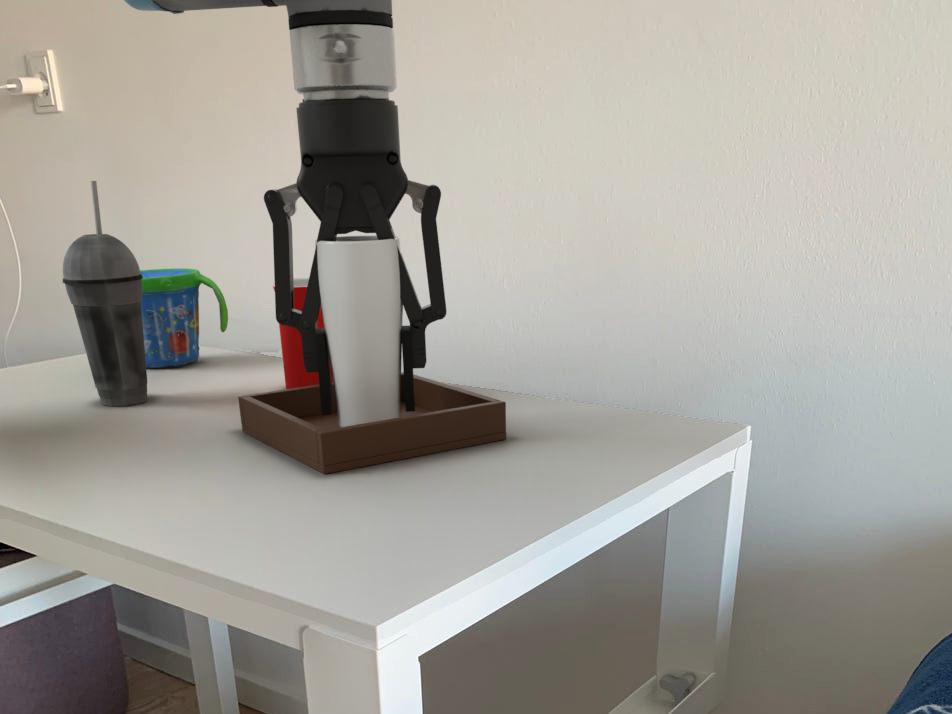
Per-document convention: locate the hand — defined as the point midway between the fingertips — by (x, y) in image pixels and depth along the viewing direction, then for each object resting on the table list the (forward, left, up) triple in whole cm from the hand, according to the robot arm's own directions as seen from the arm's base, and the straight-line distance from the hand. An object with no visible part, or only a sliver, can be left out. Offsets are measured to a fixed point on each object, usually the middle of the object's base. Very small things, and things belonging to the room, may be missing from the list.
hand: (369, 409), depth 84 cm
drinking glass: (0, 0, -2) cm, 2 cm away
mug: (-17, +4, -2) cm, 18 cm away
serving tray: (0, 0, -2) cm, 2 cm away
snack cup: (-46, -3, -2) cm, 46 cm away
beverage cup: (-28, -13, -2) cm, 31 cm away
